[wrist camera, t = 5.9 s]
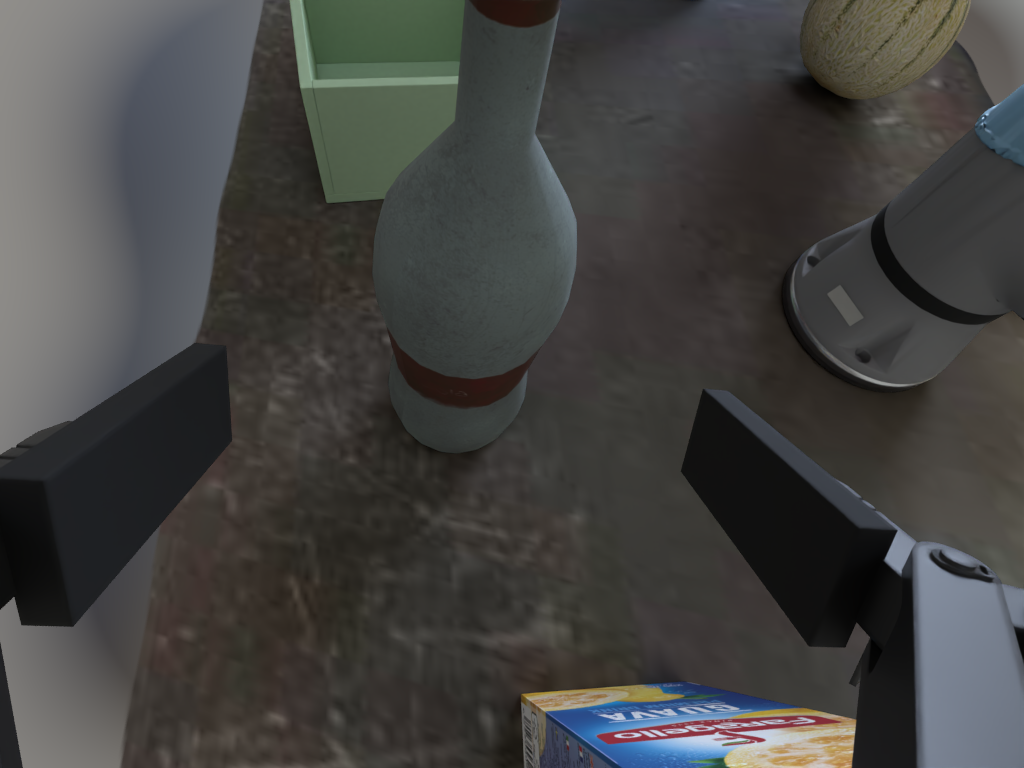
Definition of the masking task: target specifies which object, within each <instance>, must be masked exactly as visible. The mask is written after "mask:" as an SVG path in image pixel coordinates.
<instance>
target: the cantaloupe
mask: <svg viewBox="0 0 1024 768" xmlns="http://www.w3.org/2000/svg"><path fill="white" fill-rule="evenodd" d="M970 2H971V0H810V2H809V4H808V7H807V9H806V11H805V14H804V18H803V23H802V26H801V34H800V52H801V55H802V59H803V63H804V66H805V67H806V68H807V70H808V71H809V73H810V74H811V75H812V76H813V77H814V79H815V80H816V81H817V82H818V83H819V84H820V85H821V86H822V87H824V88H826V89H828V90H830V91H831V92H833V93H835V94H836V95H838V96H841V97H844V98H849V99H870V98H876V97H880V96H883V95H886V94H889V93H892V92H895V91H897V90H899V89H901V88H903V87H905V86H907V85H909V84H910V83H912V82H914V81H915V80H917V79H918V78H920V77H921V76H922V75H924V74H925V73H926V72H927V71H928V70H930V69H931V68H932V67H933V66H934V65H935V64H936V63H938V62H939V61H940V59H941V58H942V57H943V56H944V55H945V53H946V52H947V51H948V50H949V49H950V47H951V46H952V44H953V43H954V41H955V40H956V38H957V36H958V34H959V32H960V30H961V29H962V27H963V24H964V22H965V19H966V17H967V14H968V11H969V8H970Z"/></svg>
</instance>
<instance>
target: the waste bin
mask: <svg viewBox="0 0 1024 768" xmlns="http://www.w3.org/2000/svg"><path fill="white" fill-rule="evenodd" d="M464 6H465V0H290V9H291V17H292V25H293V33H294V42H295V50H296V58H297V66H298V75H299V83H300V90H301V94H302V98H303V103H304V107H305V111H306V116H307V120H308V125H309V129H310V133H311V138H312V142H313V146H314V151H315V155H316V159H317V164H318V168H319V172H320V177H321V181H322V185H323V190H324V194H325V198H326V202H327V203H338V202H351V201H365V200H378V199H385V195H386V192H387V191H388V190H389V188H390V187H391V185H392V184H393V183H394V181H395V180H396V178H397V177H398V176H399V174H400V173H401V172H402V171H403V170H404V169H405V168H406V167H407V166H408V165H409V164H410V163H411V162H412V161H413V160H414V159H415V158H416V157H417V156H418V155H419V154H421V153H422V152H423V151H424V150H425V149H426V148H427V147H428V146H429V145H430V144H431V143H432V142H433V141H434V140H435V139H436V138H437V137H438V136H439V135H440V134H441V133H442V132H443V131H445V130H446V129H447V128H448V127H449V126H450V125H451V124H452V123H453V122H454V121H455V112H456V100H457V88H458V77H459V65H460V53H461V41H462V29H463V18H464Z"/></svg>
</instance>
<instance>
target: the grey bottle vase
mask: <svg viewBox="0 0 1024 768" xmlns="http://www.w3.org/2000/svg"><path fill="white" fill-rule="evenodd" d="M561 2H562V0H465V6H464V18H463V29H462V41H461V53H460V65H459V77H458V88H457V100H456V112H455V121H454V122H453V123H452V124H451V125H450V126H449V127H448V128H447V129H446V130H445V131H443V132H442V133H441V134H440V135H439V136H438V137H437V138H436V139H435V140H434V141H433V142H432V143H431V144H430V145H429V146H428V147H427V148H426V149H425V150H424V151H423V152H422V153H421V154H419V155H418V156H417V157H416V158H415V159H414V160H413V161H412V162H411V163H410V164H409V165H408V166H407V167H406V168H405V169H404V170H403V171H402V172H401V173H400V174H399V176H398V177H397V178H396V180H395V181H394V183H393V184H392V185H391V187H390V188H389V190H388V191H387V192H386V195H385V199H384V202H383V205H382V208H381V212H380V215H379V220H378V224H377V228H376V233H375V237H374V252H373V270H372V275H373V280H374V286H375V292H376V298H377V302H378V304H379V307H380V310H381V312H382V315H383V318H384V320H385V323H386V326H387V329H388V333H389V337H390V340H391V344H392V347H393V356H392V362H391V367H390V374H389V381H388V385H389V391H390V397H391V403H392V405H393V407H394V409H395V411H396V413H397V415H398V417H399V418H400V420H401V422H402V424H403V425H404V427H405V429H406V431H407V432H409V433H410V434H411V435H412V436H413V437H414V438H415V439H417V440H418V441H419V442H420V443H421V444H423V445H426V446H428V447H430V448H433V449H435V450H437V451H440V452H448V453H462V452H467V451H472V450H477V449H479V448H481V447H483V446H485V445H487V444H488V443H490V442H492V441H494V440H495V439H496V438H497V437H498V436H499V435H500V434H501V433H502V432H503V431H504V430H505V429H506V428H507V427H508V425H509V424H510V423H511V422H512V421H513V420H514V419H515V417H516V416H517V414H518V412H519V409H520V407H521V405H522V403H523V400H524V398H525V391H526V384H527V371H528V368H529V366H530V365H531V363H532V361H533V360H534V358H535V356H536V355H537V353H538V351H539V350H540V348H541V346H542V345H543V343H544V342H545V341H546V339H547V338H548V337H549V335H550V334H551V332H552V331H553V330H554V328H555V327H556V325H557V324H558V322H559V320H560V318H561V315H562V313H563V311H564V309H565V306H566V304H567V302H568V299H569V295H570V291H571V286H572V282H573V278H574V273H575V269H576V251H577V221H576V218H575V215H574V213H573V210H572V207H571V204H570V201H569V199H568V197H567V195H566V193H565V191H564V189H563V187H562V185H561V183H560V181H559V179H558V177H557V175H556V173H555V171H554V170H553V168H552V166H551V164H550V162H549V160H548V158H547V156H546V154H545V152H544V150H543V148H542V146H541V144H540V142H539V141H538V139H537V137H536V135H535V130H536V125H537V120H538V115H539V110H540V105H541V100H542V95H543V91H544V86H545V81H546V76H547V71H548V66H549V61H550V56H551V51H552V46H553V42H554V37H555V32H556V27H557V22H558V17H559V12H560V7H561Z"/></svg>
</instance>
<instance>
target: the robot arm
mask: <svg viewBox="0 0 1024 768" xmlns="http://www.w3.org/2000/svg"><path fill="white" fill-rule="evenodd" d="M783 305H784V309H785V313H786V316H787V319H788V321H789V324H790V326H791V328H792V330H793V332H794V334H795V335H796V337H797V338H798V340H799V341H800V343H801V344H802V345H803V347H804V348H805V349H806V350H807V351H808V353H809V354H810V355H811V356H812V357H813V358H814V359H815V360H816V361H817V362H818V363H820V364H821V365H822V366H823V367H824V368H826V369H827V370H828V371H830V372H831V373H833V374H834V375H836V376H837V377H839V378H841V379H843V380H844V381H846V382H849V383H851V384H853V385H855V386H858V387H861V388H864V389H868V390H872V391H878V392H900V391H905V390H908V389H911V388H913V387H916V386H918V385H920V384H922V383H924V382H926V381H928V380H930V379H932V378H934V377H935V376H937V375H938V374H939V373H940V372H941V371H943V370H944V369H945V368H946V367H947V366H948V365H949V364H950V363H951V362H952V361H953V360H954V359H955V358H956V356H957V355H958V354H959V353H960V352H961V351H962V350H963V349H964V348H965V347H966V346H967V345H968V344H969V343H970V341H971V340H972V339H973V338H974V337H975V336H976V335H977V334H978V333H979V332H980V331H981V330H982V329H983V328H984V326H985V325H986V324H988V323H990V322H991V321H993V320H995V319H997V318H999V317H1001V316H1003V315H1004V314H1006V313H1008V312H1010V311H1012V310H1013V311H1014V312H1015V313H1016V314H1017V315H1018V316H1019V317H1021V318H1022V319H1023V320H1024V84H1023V85H1022V86H1021V87H1019V88H1018V89H1017V90H1016V91H1014V92H1013V93H1012V94H1011V95H1009V96H1008V97H1007V98H1006V99H1005V100H1003V101H1002V102H1001V103H1000V104H998V105H996V106H994V107H992V108H990V109H989V110H987V111H986V112H985V113H984V114H983V115H982V116H981V117H980V118H979V119H978V120H977V123H976V125H975V126H974V127H973V128H972V129H971V130H970V131H969V132H968V133H967V134H965V135H964V136H963V137H962V138H961V139H960V140H959V141H958V142H957V143H956V144H954V145H953V146H952V147H951V148H950V149H949V150H948V151H947V152H946V153H944V154H943V155H942V156H941V157H940V158H939V159H938V160H937V161H936V162H935V163H933V164H932V165H931V166H930V167H929V168H928V169H927V170H926V171H925V172H923V173H922V174H921V175H920V176H919V177H918V178H917V179H915V180H914V181H913V182H912V183H911V184H910V185H909V186H908V187H906V188H905V189H904V190H903V191H902V192H901V193H900V194H898V195H897V196H896V197H895V198H894V199H893V200H892V201H891V202H890V203H889V204H888V205H886V206H885V207H884V208H883V209H882V210H881V211H880V212H879V213H877V214H876V215H875V216H873V217H870V218H868V219H866V220H864V221H862V222H860V223H857V224H855V225H853V226H851V227H849V228H847V229H844V230H842V231H840V232H838V233H836V234H834V235H831V236H829V237H827V238H825V239H823V240H821V241H819V242H817V243H816V244H814V245H812V246H811V247H810V248H808V249H807V250H806V251H805V252H804V253H803V254H802V255H801V256H800V257H799V258H798V259H797V260H796V261H795V262H794V263H793V264H792V265H791V267H790V268H789V270H788V272H787V274H786V276H785V279H784V283H783ZM231 441H232V431H231V415H230V400H229V384H228V368H227V352H226V346H222V345H210V344H199V343H194V344H193V345H191V346H190V347H188V348H186V349H185V350H183V351H182V352H180V353H179V354H177V355H175V356H174V357H172V358H171V359H169V360H168V361H166V362H165V363H163V364H161V365H160V366H158V367H157V368H155V369H154V370H152V371H150V372H149V373H147V374H146V375H144V376H143V377H141V378H140V379H138V380H136V381H135V382H133V383H132V384H130V385H129V386H127V387H126V388H124V389H123V390H121V391H119V392H118V393H116V394H115V395H113V396H112V397H110V398H108V399H107V400H105V401H104V402H102V403H101V404H99V405H98V406H96V407H95V408H93V409H91V410H90V411H88V412H87V413H85V414H83V415H82V416H80V417H79V418H78V419H76V420H74V421H67V422H64V423H61V424H58V425H55V426H53V427H50V428H47V429H44V430H41V431H38V432H37V433H35V434H34V435H32V436H30V437H29V438H27V439H25V440H24V441H22V442H20V443H19V444H17V446H16V448H11V449H9V450H7V451H6V452H4V453H3V454H1V455H0V609H1V608H2V607H4V606H5V605H6V604H7V603H8V602H9V601H10V600H11V599H12V598H13V597H15V601H16V605H17V609H18V613H19V617H20V621H21V625H33V626H70V627H73V626H74V625H75V624H76V623H77V621H78V620H79V619H80V618H81V617H82V615H83V614H84V613H85V612H86V611H87V610H88V608H89V607H90V606H91V605H92V604H93V603H94V602H95V600H96V599H97V598H98V597H99V595H101V593H102V592H103V591H104V590H105V589H106V587H107V586H108V585H109V584H110V583H111V581H112V580H113V579H114V578H115V577H116V576H117V575H118V573H119V572H120V571H121V570H122V569H123V568H124V566H125V565H126V564H127V563H128V562H129V560H130V559H131V558H132V557H133V556H134V555H135V554H136V552H137V551H138V550H139V549H140V548H141V546H142V545H143V544H144V543H145V542H146V540H148V538H149V537H150V536H151V535H152V534H153V532H154V531H155V530H156V529H157V528H158V527H159V525H160V524H161V523H162V522H163V521H164V520H165V518H166V517H167V516H168V515H169V514H170V513H171V511H172V510H173V509H174V508H175V507H176V506H177V504H178V503H179V502H180V501H181V500H182V499H183V497H184V496H185V495H186V494H187V493H188V492H189V490H190V489H191V488H192V487H193V486H194V485H195V483H196V482H197V481H198V480H199V479H200V477H201V476H202V475H203V474H204V473H205V472H206V470H207V469H208V468H209V467H210V466H211V465H212V463H213V462H214V461H215V460H216V459H217V458H218V456H219V455H220V454H221V453H222V452H223V451H224V449H225V448H226V447H227V446H228V445H229V444H230V442H231ZM681 472H682V474H683V475H684V476H685V478H686V479H687V480H688V482H689V483H690V485H691V486H692V487H693V489H694V490H695V491H696V493H697V494H698V495H699V497H700V498H701V500H702V501H703V502H704V504H705V505H706V506H707V508H708V509H709V510H710V512H711V513H712V515H713V516H714V517H715V519H716V520H717V521H718V523H719V524H720V525H721V527H722V528H723V530H724V531H725V532H726V534H727V535H728V536H729V538H730V539H731V540H732V542H733V543H734V545H735V546H736V547H737V549H738V550H739V551H740V553H741V554H742V555H743V557H744V558H745V560H746V561H747V562H748V564H749V565H750V566H751V568H752V569H753V570H754V572H755V573H756V575H757V576H758V577H759V579H760V580H761V581H762V583H763V584H764V585H765V587H766V588H767V590H768V591H769V592H770V594H771V595H772V596H773V598H774V599H775V600H776V602H777V603H778V605H779V606H780V607H781V609H782V610H783V611H784V613H785V614H786V615H787V617H788V618H789V620H790V621H791V622H792V624H793V625H794V626H795V628H796V629H797V630H798V632H799V633H800V635H801V636H802V637H803V639H804V640H805V641H806V643H807V644H808V645H809V646H810V647H846V644H847V642H848V640H849V638H850V635H851V633H852V631H853V629H854V627H855V624H856V622H857V623H858V624H859V625H860V626H861V628H862V629H863V630H864V631H865V632H866V633H867V634H868V635H869V637H870V640H869V642H868V644H867V646H866V648H865V650H864V652H863V655H862V657H861V659H860V661H859V663H858V665H857V667H856V670H855V672H854V674H853V676H852V678H851V680H850V682H849V684H851V685H853V686H855V687H856V685H857V684H858V682H859V681H860V687H859V697H858V707H857V717H856V727H855V737H854V747H853V757H852V767H851V768H1024V589H1021V588H1017V587H1013V586H1009V585H1004V584H1002V583H1001V581H1000V579H999V578H998V576H997V575H996V573H995V572H993V571H992V570H991V569H990V568H989V567H987V566H986V565H985V564H984V563H982V562H980V561H979V560H977V559H975V558H974V557H972V556H970V555H968V554H966V553H964V552H961V551H959V550H957V549H955V548H952V547H949V546H945V545H942V544H939V543H933V542H925V541H923V542H918V543H917V542H916V541H915V540H914V539H913V538H911V537H910V536H909V535H908V534H906V533H905V532H904V531H903V530H901V529H900V528H899V527H898V526H896V525H895V524H894V523H893V522H892V521H890V520H889V519H888V518H887V517H885V516H884V515H883V514H882V513H880V512H876V508H874V507H873V506H872V505H871V504H869V503H868V502H867V501H863V498H862V497H861V496H860V495H858V494H857V493H856V492H855V491H853V490H852V489H851V488H850V487H848V486H847V485H846V484H844V483H842V482H840V481H838V480H837V479H835V478H833V477H832V476H831V475H830V474H829V473H827V472H826V471H825V470H824V469H823V468H821V467H820V466H819V465H818V464H816V463H815V462H814V461H813V460H812V459H810V458H809V457H808V456H807V455H805V454H804V453H803V452H802V451H801V450H799V449H798V448H797V447H796V446H794V445H793V444H792V443H791V442H790V441H788V440H787V439H786V438H785V437H784V436H782V435H781V434H780V433H779V432H777V431H776V430H775V429H774V428H773V427H771V426H770V425H769V424H768V423H766V422H765V421H764V420H763V419H762V418H760V417H759V416H758V415H757V414H756V413H754V412H753V411H752V410H751V409H749V408H748V407H747V406H746V405H745V404H743V403H742V402H741V401H740V400H738V399H737V398H736V397H735V396H734V395H732V394H731V393H730V392H729V391H724V390H713V389H703V391H702V395H701V399H700V402H699V406H698V410H697V413H696V417H695V421H694V425H693V428H692V432H691V436H690V439H689V443H688V447H687V451H686V454H685V458H684V462H683V465H682V469H681ZM0 768H23V767H22V761H21V756H20V750H19V745H18V739H17V733H16V728H15V722H14V716H13V711H12V705H11V700H10V694H9V689H8V683H7V678H6V672H5V666H4V661H3V655H2V649H1V644H0Z"/></svg>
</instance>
